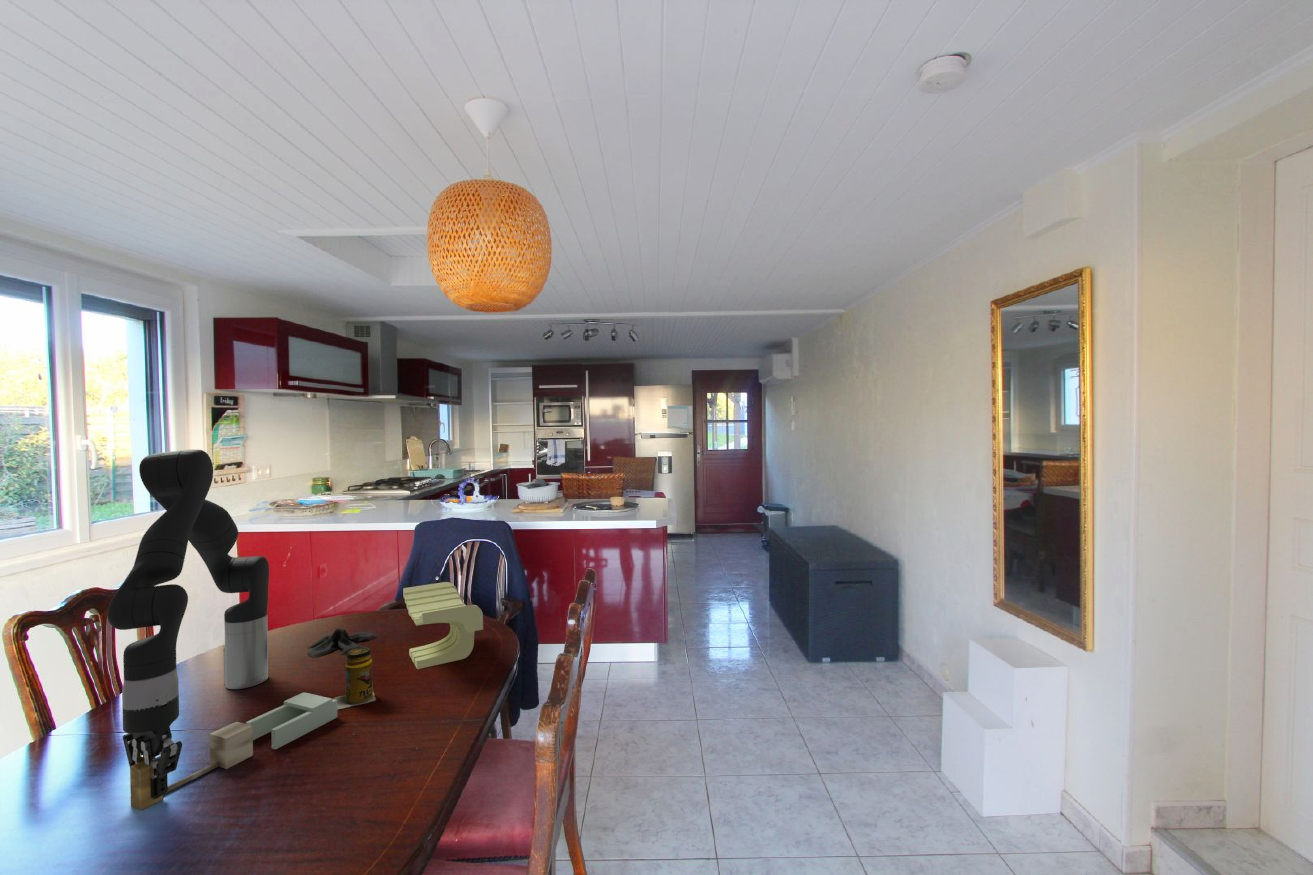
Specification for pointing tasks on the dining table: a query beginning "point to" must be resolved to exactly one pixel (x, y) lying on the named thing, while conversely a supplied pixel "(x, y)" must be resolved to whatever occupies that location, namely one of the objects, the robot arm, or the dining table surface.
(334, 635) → the cloth
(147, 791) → the tethered block
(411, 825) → the dining table surface
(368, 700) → the condiment
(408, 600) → the slatted curved stool
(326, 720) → the u-shaped sage bracket
